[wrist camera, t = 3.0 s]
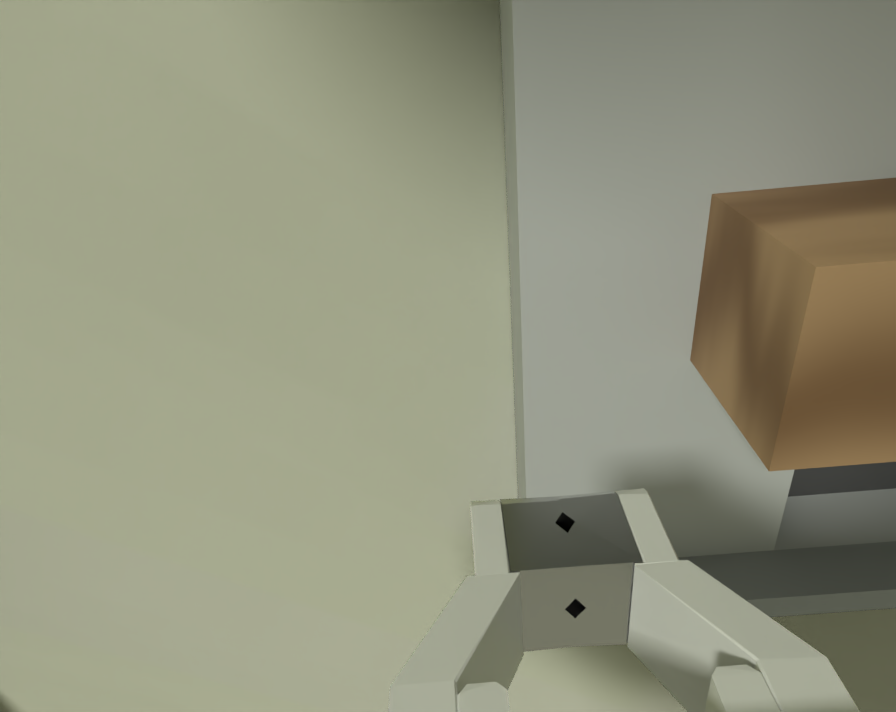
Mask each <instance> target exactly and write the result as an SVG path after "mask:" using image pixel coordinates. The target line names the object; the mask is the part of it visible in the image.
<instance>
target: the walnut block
mask: <svg viewBox="0 0 896 712" xmlns="http://www.w3.org/2000/svg"><path fill="white" fill-rule="evenodd" d="M690 361H691V362H692V364H693V365H694V366H695V368H696V369H697V371H698V372H699V374H700V375H701V376H702V378H703V379H704V381H705V382H706V383H707V385H708V386H709V388H710V389H711V390H712V392H713V393H714V395H715V396H716V398H717V399H718V400H719V402H720V403H721V405H722V406H723V407H724V409H725V410H726V412H727V413H728V414H729V416H730V417H731V419H732V420H733V422H734V423H735V424H736V426H737V427H738V429H739V430H740V431H741V433H742V434H743V436H744V437H745V438H746V440H747V441H748V443H749V444H750V446H751V447H752V448H753V450H754V451H755V453H756V454H757V455H758V457H759V458H760V460H761V461H762V462H763V464H764V465H765V467H766V468H767V469H768V471H782V470H795V469H807V468H820V467H833V466H846V465H859V464H871V463H884V462H896V178H885V179H874V180H862V181H851V182H840V183H829V184H818V185H806V186H795V187H784V188H773V189H762V190H750V191H739V192H728V193H717V194H712V197H711V205H710V212H709V220H708V228H707V235H706V243H705V250H704V258H703V266H702V273H701V281H700V289H699V296H698V304H697V311H696V319H695V327H694V334H693V342H692V349H691V357H690Z"/></svg>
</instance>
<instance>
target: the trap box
mask: <svg viewBox="0 0 896 712" xmlns="http://www.w3.org/2000/svg"><path fill="white" fill-rule="evenodd" d="M500 25H501V52H502V79H503V106H504V133H505V161H506V188H507V215H508V242H509V269H510V296H511V323H512V350H513V377H514V404H515V432H516V459H517V486H518V498H536V497H555V496H566V495H578V494H590V493H602V492H615V491H620V490H631V489H641V488H644V489H645V490H646V491H648V493H649V495H650V497H651V499H652V502H653V504H654V506H655V508H656V510H657V513H658V515H659V517H660V519H661V521H662V524H663V526H664V528H665V530H666V532H667V535H668V537H669V539H670V541H671V543H672V545H673V548H674V550H675V552H676V554H677V556H678V559H679V560H689V561H691V562H692V563H694V564H695V565H696V566H698V567H699V568H701V569H702V570H704V571H705V572H706V573H708V574H709V575H711V576H712V577H713V578H715V579H716V580H718V581H719V582H721V583H722V584H723V585H725V586H726V587H728V588H729V589H731V590H732V591H733V592H735V593H736V594H738V595H739V596H740V597H742V598H743V599H745V600H746V601H748V602H749V603H750V604H752V605H753V606H755V607H756V608H758V609H759V610H760V611H762V612H763V613H765V614H766V615H768V616H769V617H780V616H794V615H807V614H821V613H835V612H849V611H863V610H876V609H890V608H896V462H884V463H871V464H859V465H846V466H833V467H820V468H807V469H795V470H782V471H768V469H767V468H766V467H765V465H764V464H763V462H762V461H761V460H760V458H759V457H758V455H757V454H756V453H755V451H754V450H753V448H752V447H751V446H750V444H749V443H748V441H747V440H746V438H745V437H744V436H743V434H742V433H741V431H740V430H739V429H738V427H737V426H736V424H735V423H734V422H733V420H732V419H731V417H730V416H729V414H728V413H727V412H726V410H725V409H724V407H723V406H722V405H721V403H720V402H719V400H718V399H717V398H716V396H715V395H714V393H713V392H712V390H711V389H710V388H709V386H708V385H707V383H706V382H705V381H704V379H703V378H702V376H701V375H700V374H699V372H698V371H697V369H696V368H695V366H694V365H693V364H692V362H691V361H690V357H691V349H692V342H693V334H694V327H695V319H696V311H697V304H698V296H699V289H700V281H701V273H702V266H703V258H704V250H705V243H706V235H707V228H708V220H709V212H710V205H711V197H712V194H717V193H728V192H739V191H750V190H762V189H773V188H784V187H795V186H806V185H818V184H829V183H840V182H851V181H862V180H874V179H885V178H896V0H500Z"/></svg>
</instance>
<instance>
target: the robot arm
mask: <svg viewBox="0 0 896 712" xmlns="http://www.w3.org/2000/svg"><path fill="white" fill-rule="evenodd" d="M470 512H471V526H472V540H473V555H474V569H475V575H474V576H466V577H465V579H464V580H463V582H462V583H461V585H460V586H459V587H458V589H457V590H456V592H455V593H454V595H453V596H452V598H451V599H450V600H449V602H448V603H447V605H446V606H445V608H444V609H443V610H442V612H441V613H440V615H439V616H438V618H437V619H436V621H435V622H434V623H433V625H432V626H431V628H430V629H429V631H428V632H427V634H426V635H425V636H424V638H423V639H422V641H421V642H420V644H419V645H418V647H417V648H416V649H415V651H414V652H413V654H412V655H411V657H410V658H409V659H408V661H407V662H406V664H405V665H404V667H403V668H402V670H401V671H400V672H399V674H398V675H397V677H396V678H395V680H394V681H393V683H392V684H391V685H390V693H389V706H388V712H510V706H509V698H508V688H509V686H510V684H511V682H512V680H513V677H514V675H515V673H516V671H517V668H518V666H519V664H520V662H521V660H522V657H523V655H524V653H523V652H524V651H534V650H544V649H554V648H564V647H575V646H599V645H623V644H628V646H627V647H628V648H629V649H630V650H631V651H632V652H633V653H634V655H635V656H636V657H637V658H638V659H639V660H640V661H641V662H642V663H643V664H644V665H645V666H646V667H647V668H648V670H649V671H650V672H651V673H652V674H653V675H654V676H655V677H656V678H657V679H658V680H659V681H660V682H661V684H662V685H663V686H664V687H665V688H666V689H667V690H668V691H669V692H670V693H671V694H672V695H673V696H674V698H675V699H676V700H677V701H678V702H679V703H680V704H681V705H682V706H683V707H684V708H685V709H686V710H687V711H688V712H860V711H859V709H858V707H857V706H856V704H855V703H854V701H853V699H852V698H851V696H850V694H849V693H848V691H847V689H846V688H845V686H844V685H843V683H842V681H841V680H840V678H839V676H838V675H837V673H836V671H835V670H834V668H833V667H832V665H831V663H830V662H829V660H828V658H827V657H826V656H824V655H823V654H822V653H820V652H819V651H817V650H816V649H814V648H813V647H812V646H810V645H809V644H807V643H806V642H805V641H803V640H802V639H800V638H799V637H797V636H796V635H795V634H793V633H792V632H790V631H789V630H787V629H786V628H785V627H783V626H782V625H780V624H779V623H777V622H776V621H775V620H773V619H772V618H770V617H769V616H768V615H766V614H765V613H763V612H762V611H760V610H759V609H758V608H756V607H755V606H753V605H752V604H750V603H749V602H748V601H746V600H745V599H743V598H742V597H740V596H739V595H738V594H736V593H735V592H733V591H732V590H731V589H729V588H728V587H726V586H725V585H723V584H722V583H721V582H719V581H718V580H716V579H715V578H713V577H712V576H711V575H709V574H708V573H706V572H705V571H704V570H702V569H701V568H699V567H698V566H696V565H695V564H694V563H692V562H691V561H689V560H679V559H678V556H677V554H676V552H675V550H674V548H673V545H672V543H671V541H670V539H669V537H668V535H667V532H666V530H665V528H664V526H663V524H662V521H661V519H660V517H659V515H658V513H657V510H656V508H655V506H654V504H653V502H652V499H651V497H650V495H649V493H648V491H646V490H645V489H644V488H641V489H631V490H620V491H615V492H602V493H590V494H578V495H566V496H555V497H536V498H517V499H500V501H499V500H491V501H471V506H470Z"/></svg>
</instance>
